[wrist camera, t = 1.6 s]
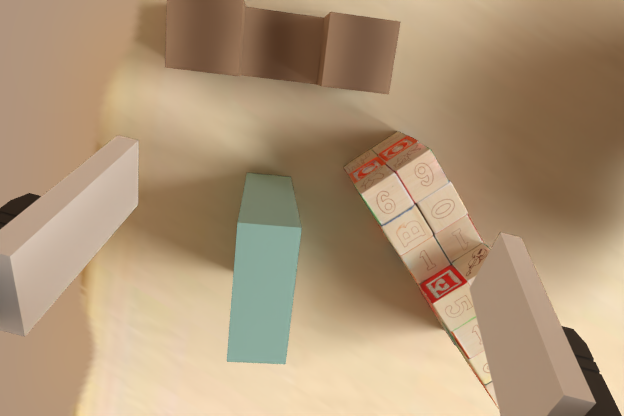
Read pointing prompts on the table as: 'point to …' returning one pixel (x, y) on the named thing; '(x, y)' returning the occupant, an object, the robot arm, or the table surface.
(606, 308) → the table surface
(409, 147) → the stack of blocks
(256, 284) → the rectangular block
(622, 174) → the table surface
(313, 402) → the table surface
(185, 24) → the staggered wooden block
